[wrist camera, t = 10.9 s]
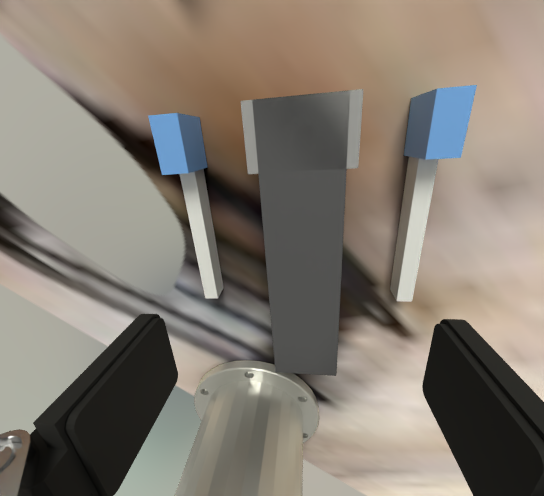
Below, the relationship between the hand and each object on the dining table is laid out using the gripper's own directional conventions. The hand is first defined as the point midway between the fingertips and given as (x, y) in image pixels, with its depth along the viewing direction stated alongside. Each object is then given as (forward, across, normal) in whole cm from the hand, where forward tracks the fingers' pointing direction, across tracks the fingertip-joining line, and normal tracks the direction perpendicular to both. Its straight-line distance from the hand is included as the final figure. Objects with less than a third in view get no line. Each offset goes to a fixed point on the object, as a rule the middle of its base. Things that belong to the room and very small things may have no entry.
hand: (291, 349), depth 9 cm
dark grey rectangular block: (+10, 0, -1) cm, 10 cm away
